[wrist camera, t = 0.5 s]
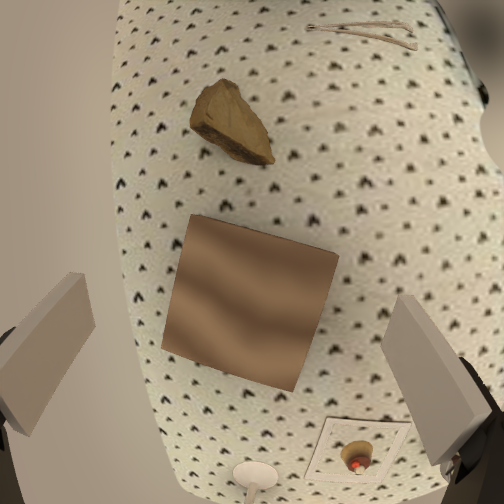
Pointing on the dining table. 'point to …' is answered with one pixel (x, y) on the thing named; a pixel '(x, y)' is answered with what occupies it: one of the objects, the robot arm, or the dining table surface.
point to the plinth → (247, 301)
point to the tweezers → (374, 24)
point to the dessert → (356, 453)
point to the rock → (231, 124)
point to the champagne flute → (255, 477)
